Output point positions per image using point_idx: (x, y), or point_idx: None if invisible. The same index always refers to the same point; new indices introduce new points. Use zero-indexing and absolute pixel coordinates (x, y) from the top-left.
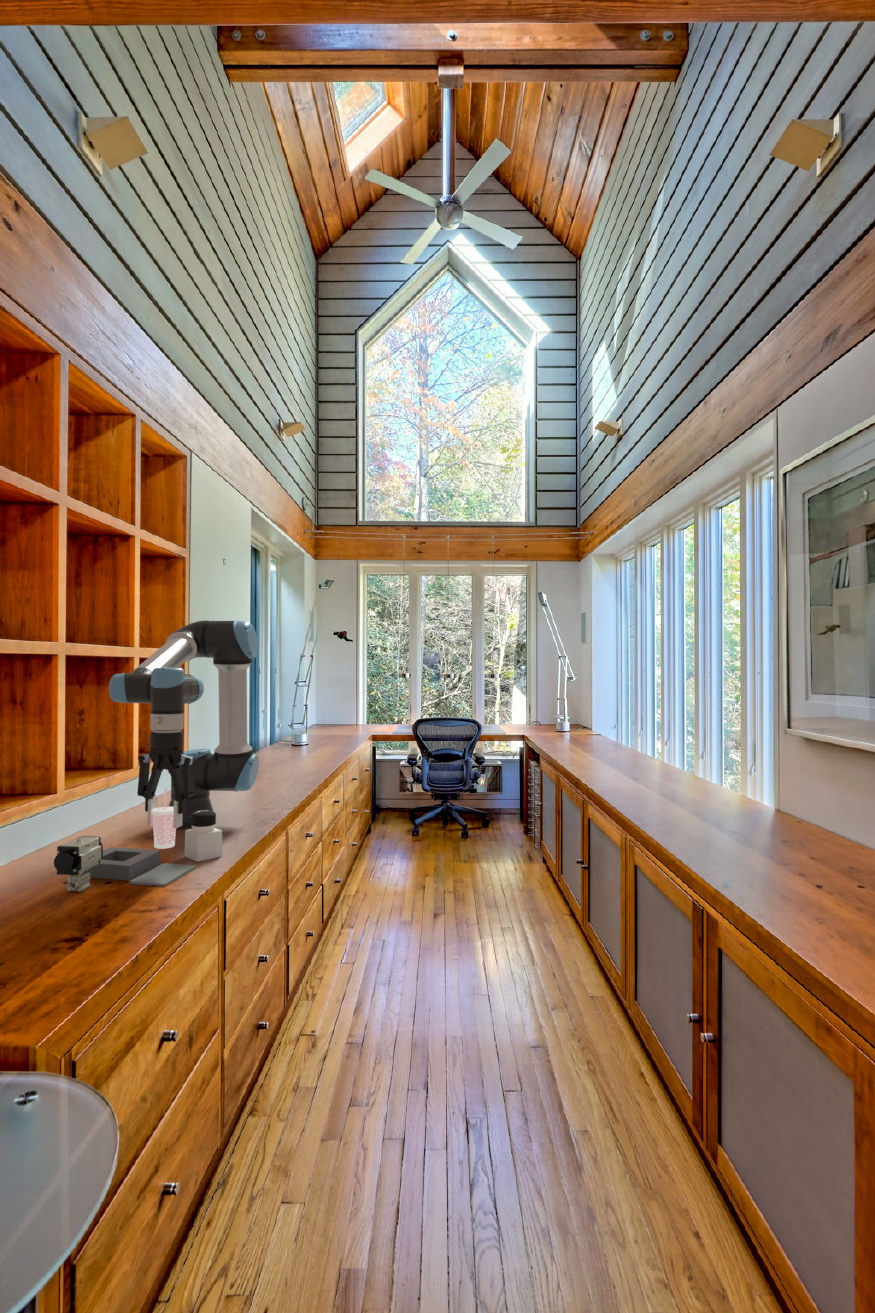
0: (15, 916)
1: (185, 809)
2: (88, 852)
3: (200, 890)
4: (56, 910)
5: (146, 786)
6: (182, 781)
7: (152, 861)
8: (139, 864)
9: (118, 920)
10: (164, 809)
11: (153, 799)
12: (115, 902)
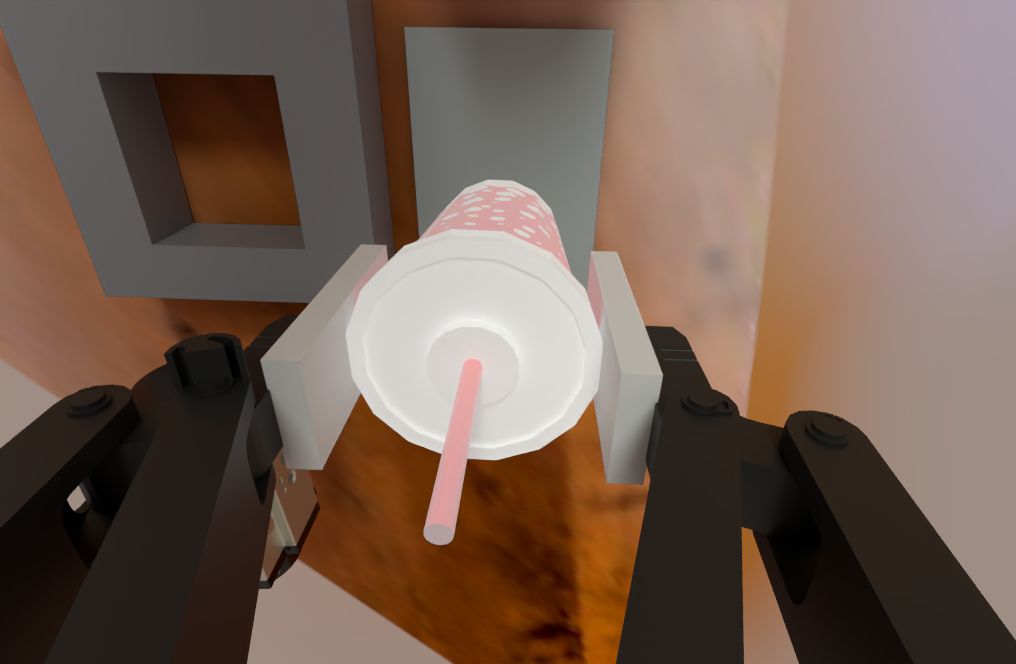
0: (309, 560)
1: (687, 342)
2: (282, 509)
3: (747, 329)
4: (376, 523)
5: (65, 486)
6: (740, 608)
7: (369, 91)
8: (377, 220)
9: (588, 553)
10: (490, 400)
11: (314, 424)
12: (498, 461)
